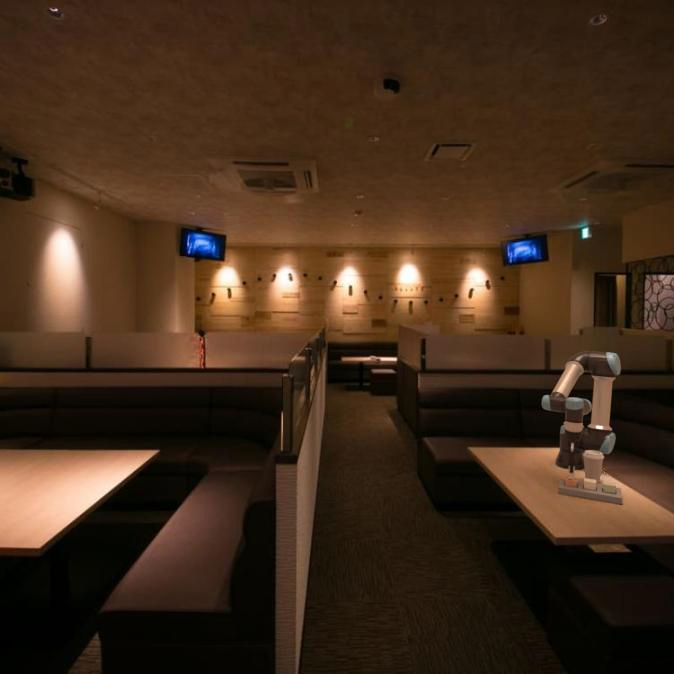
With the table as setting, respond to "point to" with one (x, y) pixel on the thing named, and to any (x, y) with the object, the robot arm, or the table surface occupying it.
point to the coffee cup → (593, 464)
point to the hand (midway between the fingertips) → (571, 478)
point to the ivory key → (589, 484)
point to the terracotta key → (571, 482)
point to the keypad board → (590, 492)
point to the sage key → (609, 487)
